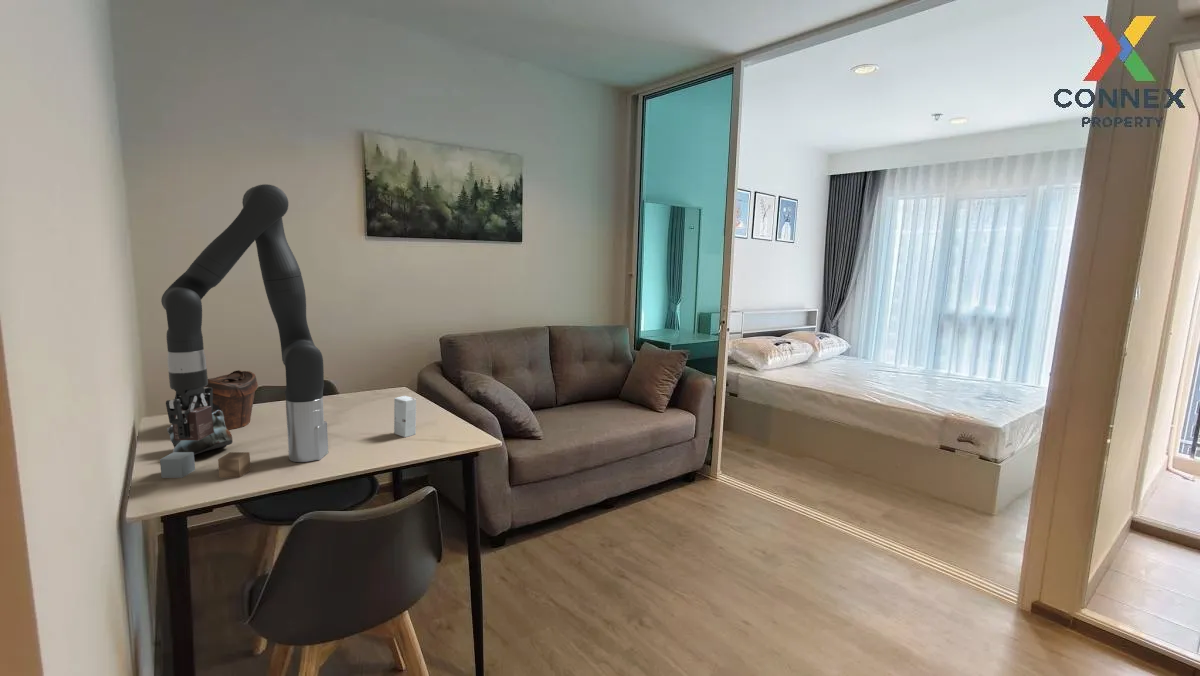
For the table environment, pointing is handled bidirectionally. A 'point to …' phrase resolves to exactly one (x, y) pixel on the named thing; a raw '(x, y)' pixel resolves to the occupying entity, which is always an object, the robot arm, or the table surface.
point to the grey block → (177, 464)
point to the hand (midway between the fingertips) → (193, 433)
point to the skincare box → (405, 416)
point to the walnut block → (234, 464)
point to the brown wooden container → (234, 397)
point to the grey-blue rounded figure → (210, 442)
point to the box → (197, 423)
